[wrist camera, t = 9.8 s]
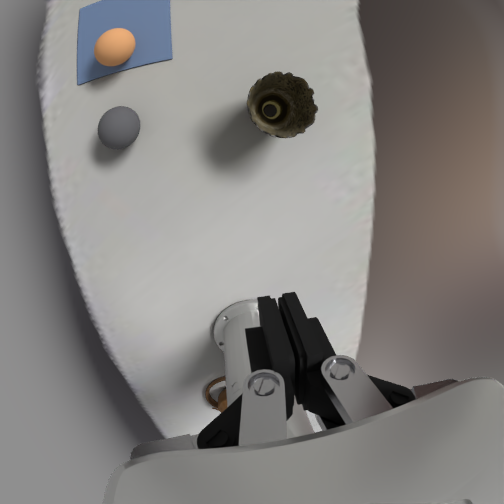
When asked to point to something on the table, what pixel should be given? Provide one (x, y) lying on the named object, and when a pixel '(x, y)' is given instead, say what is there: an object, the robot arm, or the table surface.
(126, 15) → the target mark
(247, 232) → the table surface
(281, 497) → the robot arm
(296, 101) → the brown round vessel
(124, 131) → the gray ball
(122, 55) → the orange ball
